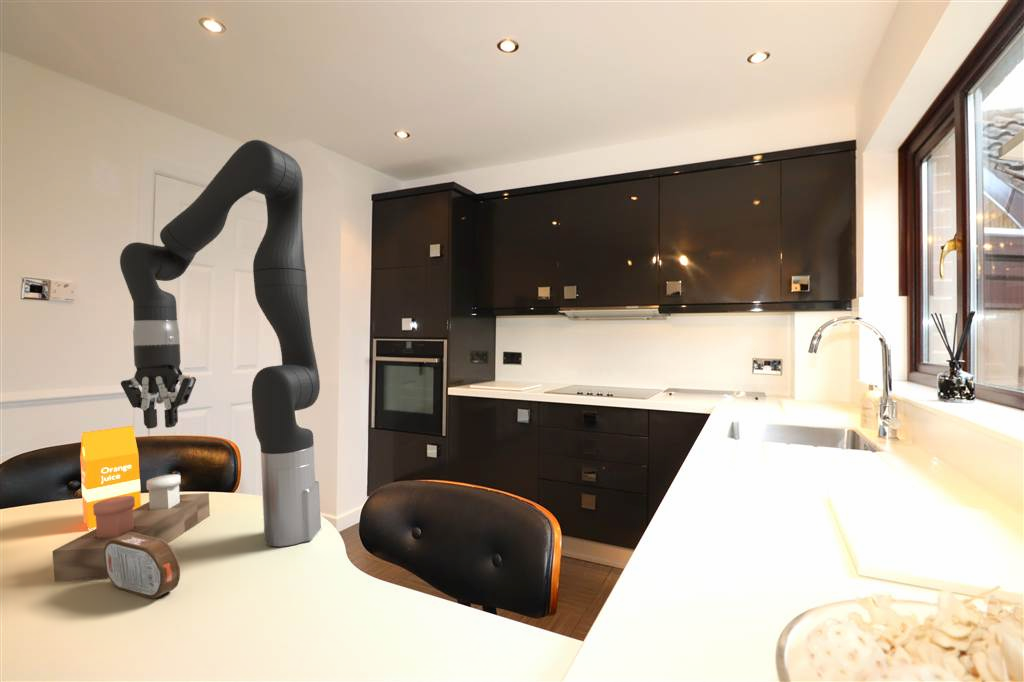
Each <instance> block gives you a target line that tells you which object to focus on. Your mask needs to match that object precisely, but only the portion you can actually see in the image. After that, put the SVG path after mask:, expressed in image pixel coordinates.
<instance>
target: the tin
mask: <svg viewBox="0 0 1024 682" xmlns="http://www.w3.org/2000/svg"><path fill="white" fill-rule="evenodd" d="M104 558H105V565H106V573H107V575H108V577H109V578H108V580H110V582H111V583H112V584H113V586H115V587H116V588H118V589H119V590H122V591H125V592H128V593H131V594H135V595H137V596H140V597H141V596H142V597H143V598H147V599H157V598H158V597H159V598H160V597H161V596H163V595H165V594H166V593H168V592H171V591H173V590H174V589H176V588H177V587H178V585H179V582H180V579H181V569H180V564H179V563H180V562H179V559H178V556H177V555H176V553H175V551H174V549H173V548H172V547H171V545H170V543H166V542H165V541H164V540H162V539H159V538H154V537H150V536H145V535H141V534H137V533H134V532H127V533H125V534H124V535H121V536H119V537H117V538H114V539H112V540H110V541H109V542H108V543H107V544H106V546H105V548H104Z"/></svg>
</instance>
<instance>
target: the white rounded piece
mask: <svg viewBox="0 0 1024 682" xmlns="http://www.w3.org/2000/svg"><path fill="white" fill-rule="evenodd" d="M181 477H182V476H181V475H180V474H174V473H173V474H165V475H159V476H155V477H152V478H149V479H147V480H146V490H147V491H148V502H149V505H150V510H153V509H169V508H171V507H173V506H175V505H176V504H178V503H180V495H181V494H180V485H181V482H182V480H181Z"/></svg>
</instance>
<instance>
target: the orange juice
mask: <svg viewBox="0 0 1024 682" xmlns="http://www.w3.org/2000/svg"><path fill="white" fill-rule="evenodd" d="M80 444H81V446H80V455H79V458H80V475H81V484H80V485H81V496H82V512H83V513H82V514H83V515H82V516H83V522H84V521H85V523H86V525H87V526H88V528H89V529H91V528H94V527H96V516H95V515H94V514H93V505H94V504H95V503H97V502H99V501H102V500H106V499H109V498H114V497H120V496H134V497H135V507H133V510H134V509H136V508H138V507H140V506H142V503H141V502H142V501H141V500H142V499H141V498H142V497H141V479H140V478H141V477H140V462H139V450H138V446H137V441H136V435H135V429H134V425H128V426H127V425H126V426H121V427H114V428H112V427H111V428H107V429H105V428H104V429H99V430H91V431H85V432H81V440H80ZM85 523H84V524H85ZM86 525H85V526H86ZM88 528H87V529H88Z"/></svg>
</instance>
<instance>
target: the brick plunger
mask: <svg viewBox="0 0 1024 682" xmlns="http://www.w3.org/2000/svg"><path fill="white" fill-rule="evenodd" d="M133 507H135V497H134V496H120V497H114V498H109V499H106V500H102V501H99V502H97V503H95V504H94V505H93V514H94V515H95V516H96V531H97V538H105V537H119V536H121V535H123V534H125V533H127V532H128V531H130V530H132V529H134V518H133Z"/></svg>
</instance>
